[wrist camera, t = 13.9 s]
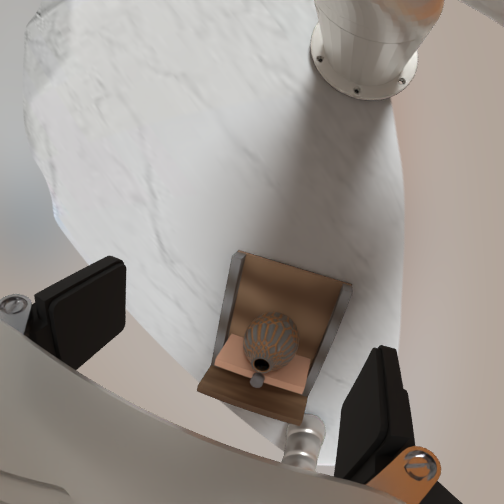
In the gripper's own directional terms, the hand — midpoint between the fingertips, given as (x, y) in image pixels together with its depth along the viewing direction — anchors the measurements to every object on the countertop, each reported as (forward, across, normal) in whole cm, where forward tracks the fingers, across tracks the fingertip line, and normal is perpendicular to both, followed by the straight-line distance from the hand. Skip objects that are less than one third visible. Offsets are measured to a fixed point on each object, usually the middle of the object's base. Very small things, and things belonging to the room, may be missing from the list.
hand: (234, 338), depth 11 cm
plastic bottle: (+28, -10, +34) cm, 45 cm away
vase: (+28, 0, +17) cm, 33 cm away
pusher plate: (+28, 0, +20) cm, 35 cm away
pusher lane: (+28, 0, +18) cm, 33 cm away
